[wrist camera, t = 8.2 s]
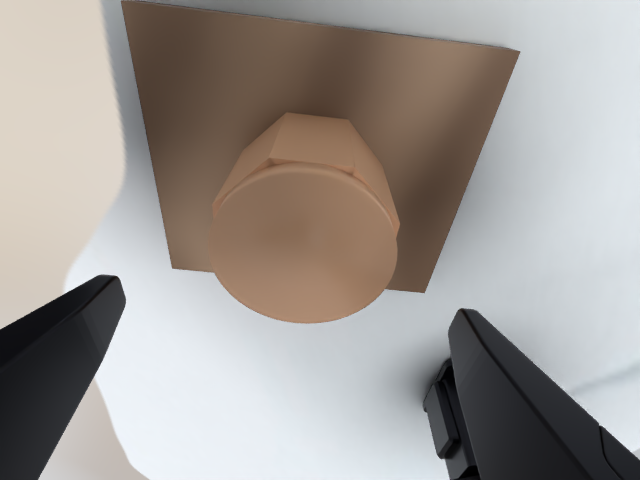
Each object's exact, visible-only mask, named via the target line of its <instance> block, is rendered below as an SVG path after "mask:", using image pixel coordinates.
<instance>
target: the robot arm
mask: <svg viewBox="0 0 640 480" xmlns="http://www.w3.org/2000/svg"><path fill="white" fill-rule="evenodd" d="M125 304H126V298H125V294H124V291H123V288H122V285H121V282H120V279H119V278H118V277H117V276H114V275H98V276H96V277H94V278H93V279H91V280H89V281H87V282H85V283H84V284H82V285H80V286H78V287H76V288H74V289H73V290H71V291H69V292H67V293H65V294H64V295H62V296H60V297H58V298H56V299H55V300H53V301H51V302H49V303H47V304H46V305H44V306H42V307H40V308H38V309H36V310H35V311H33V312H31V313H30V314H28V315H26V316H24V317H22V318H20V319H18V320H17V321H15V322H13V323H11V324H9V325H8V326H6V327H4V328H2V329H0V480H38V479H39V477H40V475H41V473H42V471H43V469H44V468H45V466H46V464H47V462H48V460H49V458H50V457H51V455H52V453H53V451H54V449H55V447H56V446H57V444H58V442H59V440H60V438H61V436H62V435H63V433H64V431H65V429H66V427H67V425H68V423H69V422H70V420H71V418H72V416H73V414H74V413H75V411H76V409H77V407H78V405H79V403H80V402H81V400H82V398H83V396H84V394H85V392H86V390H87V389H88V387H89V384H90V383H91V381H92V379H93V378H94V376H95V374H96V372H97V370H98V368H99V366H100V364H101V363H102V361H103V358H104V356H105V354H106V352H107V349H108V347H109V344H110V342H111V340H112V337H113V335H114V332H115V330H116V327H117V325H118V322H119V320H120V318H121V315H122V313H123V310H124V308H125ZM448 338H449V344H450V350H451V357H452V360H448V361H447V362H446V363H445V364H444V366H443V368H442V370H441V371H440V373H439V375H438V377H437V379H436V381H435V382H434V384H433V385H432V387H431V389H430V391H429V393H428V395H427V397H426V399H425V401H424V403H423V409H424V411H425V412H427V414H428V419H429V423H430V427H431V431H432V436H433V440H434V444H435V449H436V453H437V455H438V457H439V458H440V459H445V461H446V466H447V470H448V474H449V478H450V480H640V460H639V459H638V458H637V457H636V456H635V455H634V454H632V453H631V452H630V451H629V450H628V449H627V448H626V447H625V446H623V445H622V444H621V443H620V442H619V441H618V440H617V439H616V438H615V437H614V436H612V435H611V434H610V433H609V432H608V431H607V430H606V429H605V428H604V427H603V426H599V423H598V422H597V421H596V420H595V419H594V418H593V417H592V416H591V415H590V414H588V413H587V412H586V411H585V410H584V409H583V408H582V407H581V406H580V405H579V404H578V403H576V402H575V401H574V400H573V399H572V398H571V397H570V396H569V395H568V394H567V393H566V392H565V391H563V390H562V389H561V388H560V387H559V386H558V385H557V384H556V383H555V382H554V381H553V380H551V379H550V378H549V377H548V376H547V375H546V374H545V373H544V372H543V371H542V370H541V369H540V368H538V367H537V366H536V365H535V364H534V363H533V362H532V361H531V360H530V359H529V358H528V357H526V356H525V355H524V354H523V353H522V352H521V351H520V350H519V349H518V348H517V347H516V346H515V345H513V344H512V343H511V342H510V341H509V340H508V339H507V338H506V337H505V336H504V335H503V334H501V333H500V332H499V331H498V330H497V329H496V328H495V327H494V326H493V325H492V324H491V323H490V322H488V321H487V320H486V319H485V318H484V317H483V316H482V315H481V314H480V313H479V312H477V311H476V310H473V309H464V308H461V309H459V310H458V311H457V313H456V315H455V317H454V319H453V321H452V323H451V325H450V327H449V330H448Z"/></svg>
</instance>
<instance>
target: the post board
mask: <svg viewBox="0 0 640 480" xmlns="http://www.w3.org/2000/svg"><path fill="white" fill-rule="evenodd" d="M121 4H122V10H123V15H124V20H125V25H126V30H127V36H128V41H129V46H130V51H131V56H132V62H133V67H134V72H135V77H136V82H137V88H138V93H139V98H140V103H141V108H142V114H143V119H144V124H145V129H146V134H147V140H148V145H149V150H150V155H151V160H152V166H153V171H154V176H155V181H156V186H157V192H158V197H159V202H160V207H161V212H162V218H163V223H164V228H165V233H166V238H167V244H168V249H169V254H170V259H171V264H172V269H182V270H193V271H203V272H213V273H214V271H213V268H212V265H211V263H210V259H209V254H208V236H209V231H210V227H211V224H212V221H213V209H212V204H213V202H214V200H215V198H216V197H217V195H218V193H219V191H220V190H221V188H222V186H223V184H224V183H225V181H226V179H227V177H228V176H229V174H230V172H231V170H232V169H233V167H234V165H235V163H236V162H237V160H238V158H239V156H240V155H241V153H242V151H243V150H244V149H245V148H246V147H247V146H248V145H250V144H251V143H252V142H253V141H254V140H255V139H256V138H258V137H259V136H260V135H261V134H262V133H263V132H264V131H266V130H267V129H268V128H269V127H270V126H271V125H273V124H274V123H275V122H276V121H277V120H278V119H279V118H281V117H282V116H283V115H284V114H285V113H286V112H288V113H296V114H305V115H313V116H322V117H331V118H339V119H348V120H349V121H350V123H351V124H352V125H353V127H354V128H355V129H356V131H357V132H358V133H359V135H360V136H361V137H362V139H363V140H364V141H365V143H366V144H367V146H368V147H369V148H370V150H371V151H372V152H373V154H374V155H375V156H376V158H377V159H378V160H379V162H380V163H381V164H382V166H383V169H384V173H385V176H386V179H387V182H388V186H389V189H390V192H391V196H392V199H393V202H394V205H395V209H396V212H397V215H398V218H399V222H400V226H399V230H398V233H397V237H396V242H397V250H398V251H397V263H396V267H395V271H394V273H393V276H392V278H391V280H390V282H389V283H388V285H387V287H386V288H385V289H389V290H399V291H410V292H420V293H425V291H426V288H427V286H428V283H429V281H430V278H431V276H432V273H433V270H434V268H435V265H436V263H437V260H438V258H439V255H440V253H441V250H442V248H443V245H444V243H445V240H446V238H447V235H448V233H449V230H450V228H451V225H452V223H453V220H454V218H455V215H456V213H457V210H458V208H459V205H460V203H461V200H462V197H463V195H464V192H465V190H466V187H467V185H468V182H469V180H470V177H471V175H472V172H473V170H474V167H475V165H476V162H477V160H478V157H479V155H480V152H481V150H482V147H483V145H484V142H485V140H486V137H487V135H488V132H489V129H490V127H491V124H492V122H493V119H494V117H495V114H496V112H497V109H498V107H499V104H500V102H501V99H502V97H503V94H504V92H505V89H506V87H507V84H508V82H509V79H510V77H511V74H512V72H513V69H514V67H515V64H516V62H517V59H518V56H519V54H520V51H516V50H513V49H509V48H503V47H495V46H487V45H479V44H472V43H464V42H456V41H448V40H440V39H433V38H425V37H417V36H409V35H401V34H394V33H386V32H378V31H370V30H362V29H355V28H347V27H339V26H331V25H323V24H316V23H308V22H300V21H292V20H284V19H277V18H269V17H261V16H253V15H245V14H238V13H230V12H222V11H214V10H206V9H199V8H191V7H183V6H175V5H167V4H160V3H152V2H144V1H136V0H122V1H121Z"/></svg>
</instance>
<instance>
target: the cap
mask: <svg viewBox="0 0 640 480" xmlns="http://www.w3.org/2000/svg"><path fill="white" fill-rule="evenodd" d="M212 209H213V221H212V224H211V227H210V231H209V236H208V254H209V259H210V263H211V265H212V268H213V271H214V273H215V274H216V276H217V278H218V280H219V281H220V283H221V284H222V285H223V287H224V288H225V289H226V290H227V291H228V292H229V293H230V294H231V295H232V296H233V297H234V298H235V299H237V300H238V301H239V302H240V303H242V304H243V305H245V306H246V307H248V308H250V309H252V310H253V311H255V312H257V313H260V314H262V315H264V316H267V317H270V318H273V319H277V320H281V321H286V322H293V323H321V322H329V321H333V320H337V319H341V318H344V317H347V316H349V315H351V314H354V313H356V312H358V311H360V310H361V309H363V308H365V307H366V306H368V305H369V304H370V303H372V302H373V301H374V300H375V299H376V298H377V297H378V296H379V295H380V294H381V293H382V292H383V291H384V289H385V288H386V287H387V285H388V283H389V282H390V280H391V278H392V276H393V273H394V271H395V267H396V263H397V251H398V250H397V242H396V237H397V233H398V230H399V226H400V222H399V218H398V215H397V212H396V209H395V205H394V202H393V199H392V196H391V192H390V189H389V186H388V182H387V179H386V176H385V173H384V169H383V166H382V164H381V163H380V162H379V160H378V159H377V158H376V156H375V155H374V154H373V152H372V151H371V150H370V148H369V147H368V146H367V144H366V143H365V141H364V140H363V139H362V137H361V136H360V135H359V133H358V132H357V131H356V129H355V128H354V127H353V125H352V124H351V123H350V121H349V120H348V119H339V118H331V117H322V116H313V115H305V114H296V113H288V112H286V113H285V114H284V115H283V116H282V117H281V118H279V119H278V120H277V121H276V122H275V123H274V124H273V125H271V126H270V127H269V128H268V129H267V130H266V131H264V132H263V133H262V134H261V135H260V136H259V137H258V138H256V139H255V140H254V141H253V142H252V143H251V144H250V145H248V146H247V147H246V148H245V149H244V150H243V151H242V153H241V155H240V156H239V158H238V160H237V162H236V163H235V165H234V167H233V169H232V170H231V172H230V174H229V176H228V177H227V179H226V181H225V183H224V184H223V186H222V188H221V190H220V191H219V193H218V195H217V197H216V198H215V200H214V202H213V204H212Z"/></svg>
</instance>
